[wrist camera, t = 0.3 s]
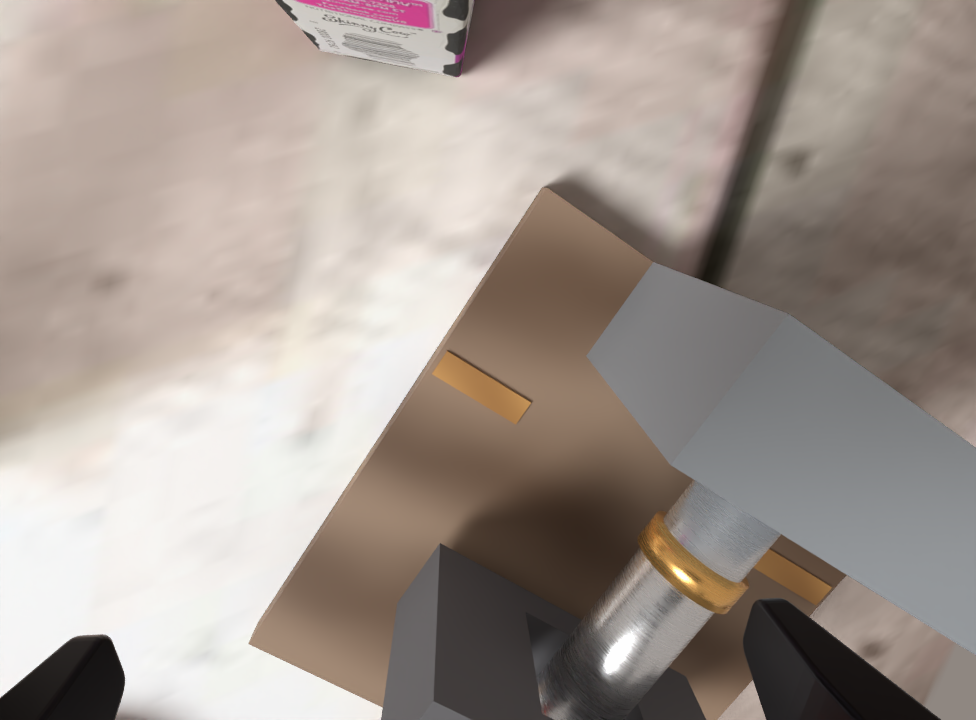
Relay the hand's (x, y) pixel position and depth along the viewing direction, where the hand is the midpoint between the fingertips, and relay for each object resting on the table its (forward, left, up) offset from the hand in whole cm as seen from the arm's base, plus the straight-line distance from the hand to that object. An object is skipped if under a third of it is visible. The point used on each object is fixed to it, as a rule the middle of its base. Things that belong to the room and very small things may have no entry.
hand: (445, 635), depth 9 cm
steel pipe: (-3, -9, -11) cm, 14 cm away
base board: (-4, -9, -15) cm, 18 cm away
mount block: (+5, -9, -14) cm, 17 cm away
